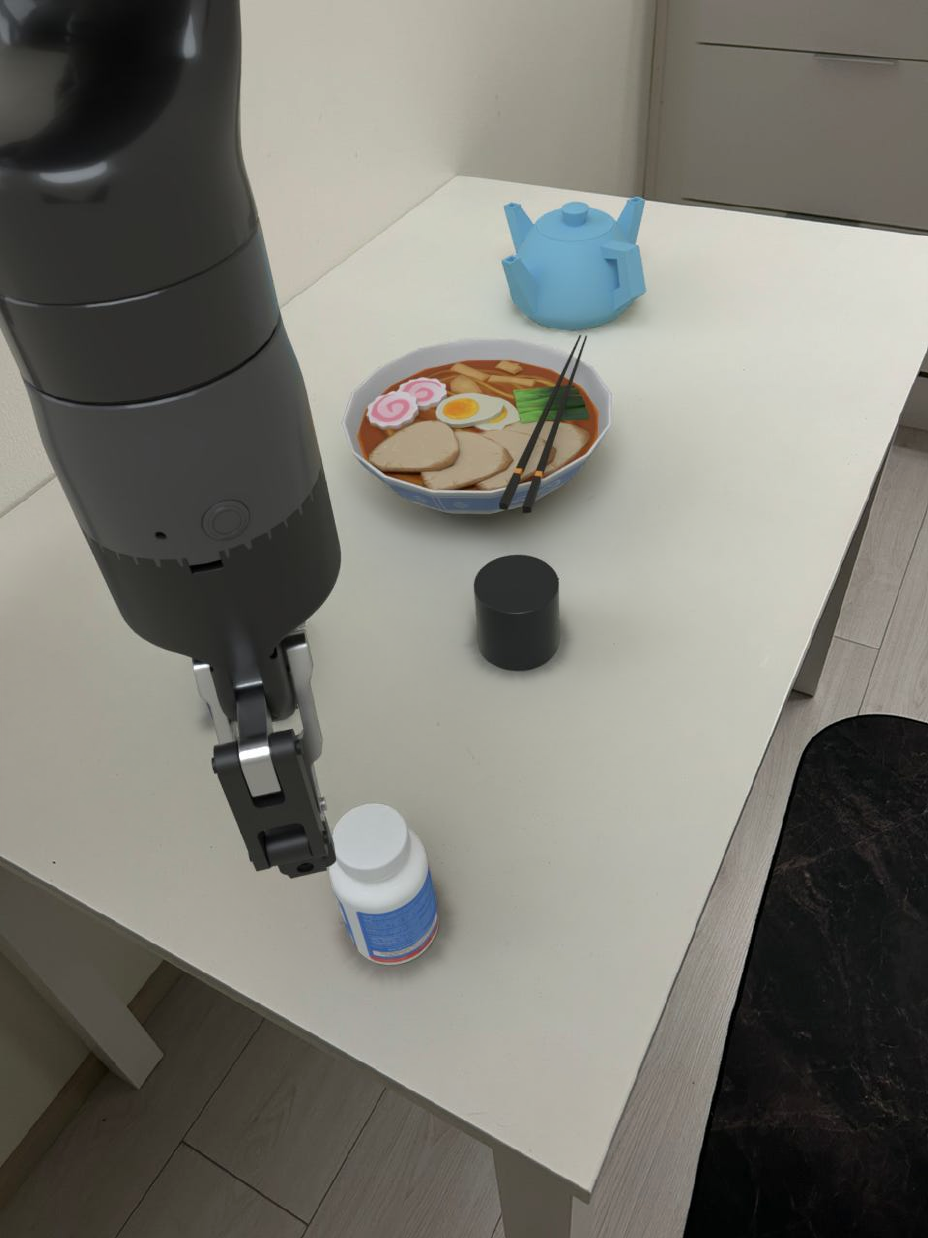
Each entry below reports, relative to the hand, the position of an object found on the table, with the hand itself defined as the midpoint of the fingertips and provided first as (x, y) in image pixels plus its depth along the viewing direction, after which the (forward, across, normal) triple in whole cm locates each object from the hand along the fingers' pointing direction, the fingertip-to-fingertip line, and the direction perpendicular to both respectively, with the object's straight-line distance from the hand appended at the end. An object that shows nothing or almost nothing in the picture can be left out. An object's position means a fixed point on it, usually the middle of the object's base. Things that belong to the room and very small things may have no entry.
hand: (298, 776), depth 41 cm
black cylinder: (+20, -23, +15) cm, 34 cm away
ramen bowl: (+20, -43, +17) cm, 50 cm away
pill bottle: (+20, -3, +2) cm, 20 cm away
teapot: (+20, -70, +34) cm, 80 cm away
